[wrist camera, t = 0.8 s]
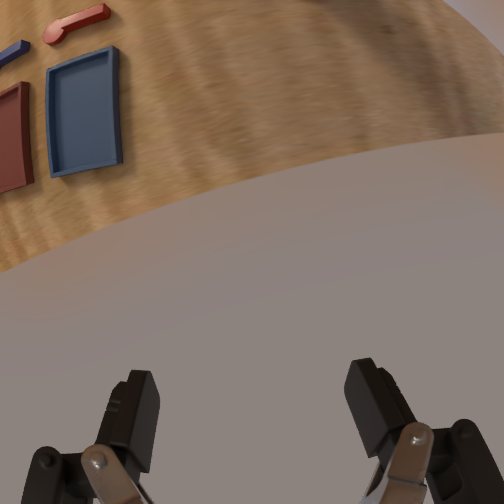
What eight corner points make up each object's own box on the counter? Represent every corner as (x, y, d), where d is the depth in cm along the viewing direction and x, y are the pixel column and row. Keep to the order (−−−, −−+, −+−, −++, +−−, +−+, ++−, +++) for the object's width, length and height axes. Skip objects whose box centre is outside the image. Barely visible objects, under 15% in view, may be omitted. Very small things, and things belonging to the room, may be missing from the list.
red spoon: (45, 49, 23) (36, 46, 21) (48, 27, 21) (40, 23, 19) (109, 25, 24) (102, 19, 21) (111, 2, 22) (105, -4, 20)
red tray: (-12, 104, 24) (-20, 105, 22) (29, 82, 25) (21, 81, 23) (-6, 194, 30) (-14, 197, 28) (34, 182, 30) (26, 185, 28)
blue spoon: (-14, 82, 22) (-23, 82, 20) (-12, 62, 21) (-20, 60, 19) (28, 57, 23) (19, 55, 21) (31, 36, 21) (22, 32, 19)
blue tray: (53, 71, 25) (46, 69, 23) (118, 49, 25) (113, 45, 23) (58, 176, 31) (50, 178, 29) (123, 162, 31) (117, 164, 29)
